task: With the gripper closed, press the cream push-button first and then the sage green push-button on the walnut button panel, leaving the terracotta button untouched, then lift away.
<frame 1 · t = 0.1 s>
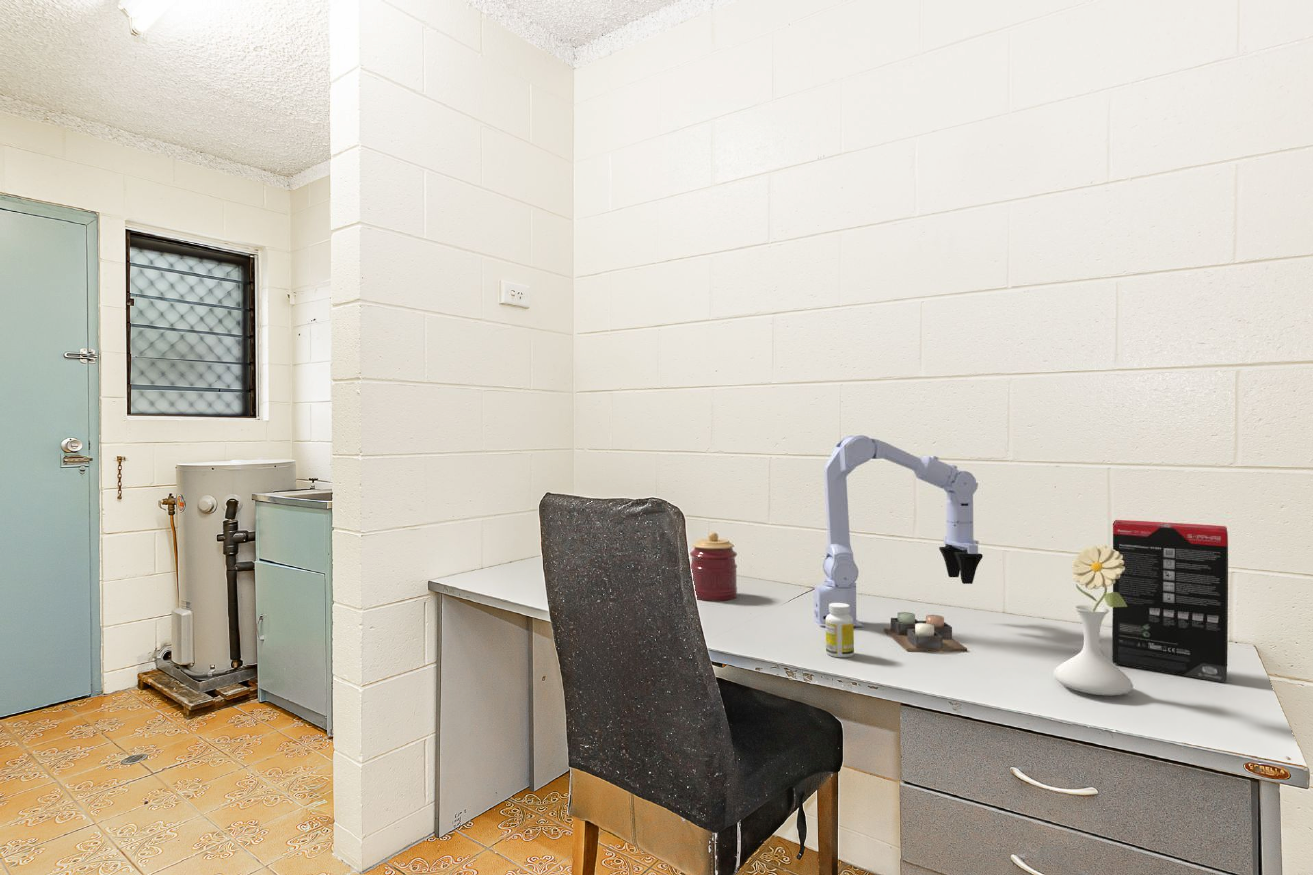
hand: (960, 580, 159), 10 cm above the table, fingers open, 7 cm apart
supplement bottle: (839, 655, 136), on the table
terracotta button: (934, 622, 147), point 3 cm above the table, slide at 0.0 cm
cream button: (924, 631, 140), point 3 cm above the table, slide at 0.0 cm
sage button: (906, 620, 149), point 3 cm above the table, slide at 0.0 cm
button panel: (923, 640, 145), on the table
canister: (713, 597, 188), on the table
graphics card box: (1169, 671, 125), on the table
flower in vase: (1095, 692, 115), on the table
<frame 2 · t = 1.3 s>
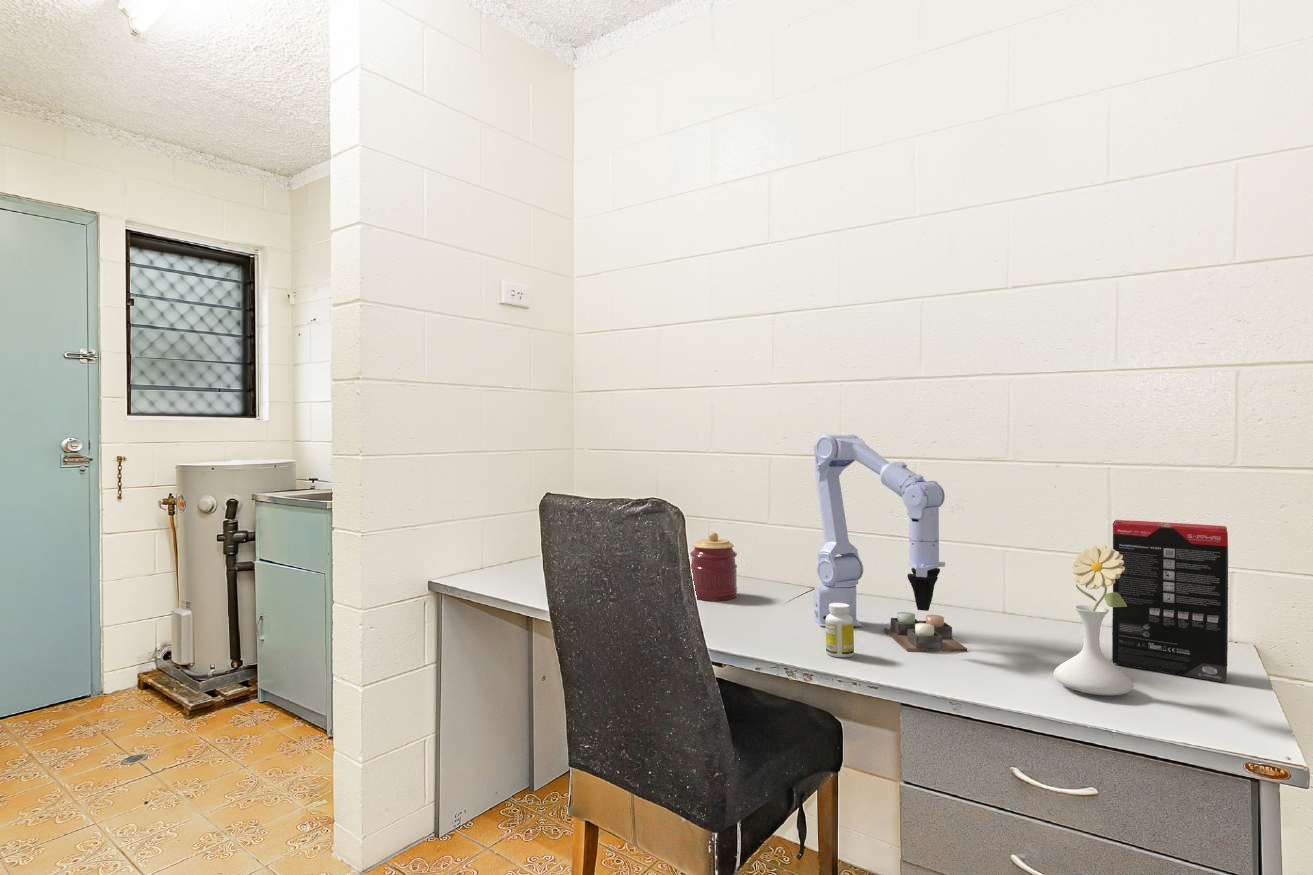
hand: (924, 606, 140), 8 cm above the table, fingers open, 6 cm apart
nothing on the table moved.
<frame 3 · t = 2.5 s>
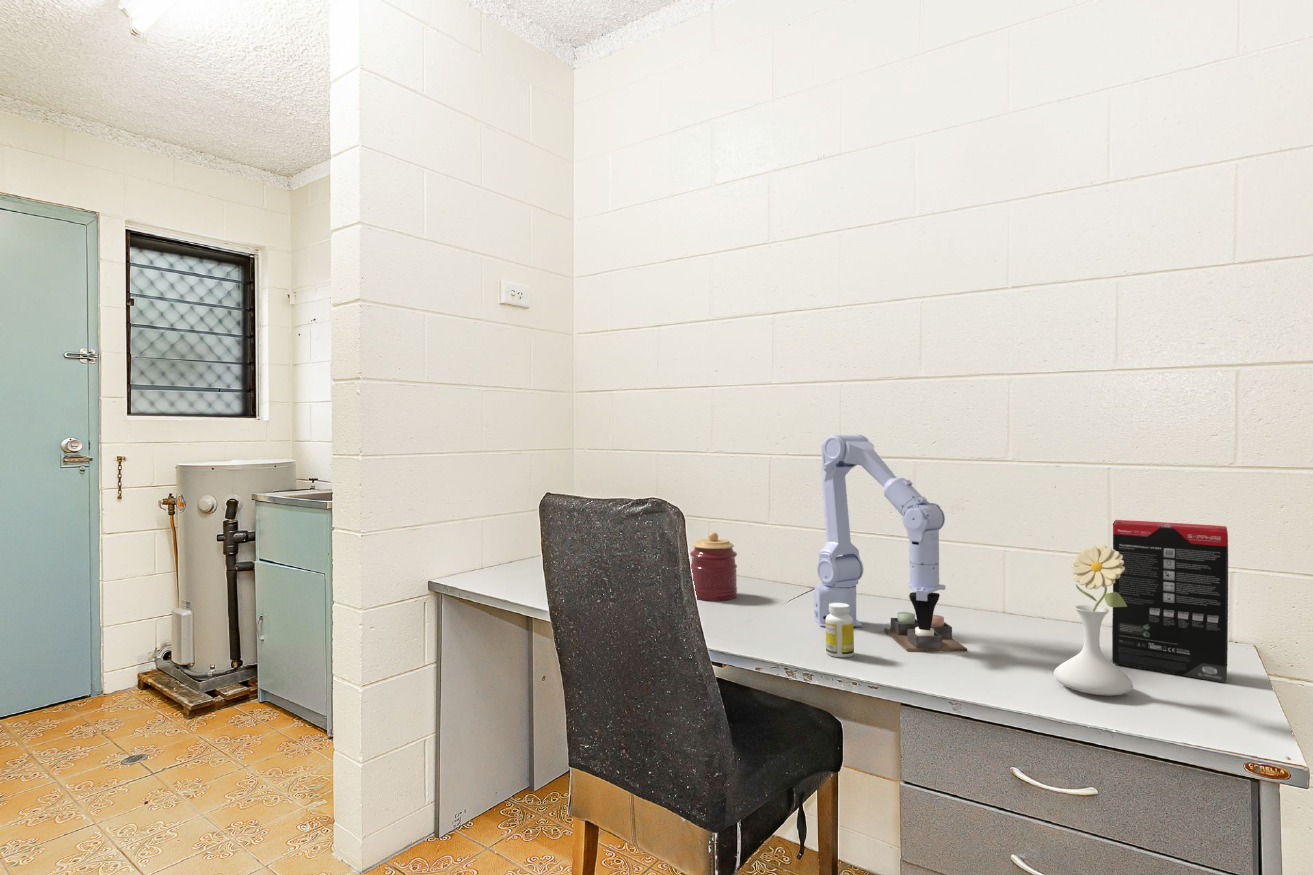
hand: (924, 629, 140), 4 cm above the table, fingers closed, pressing on cream button
cream button: (924, 635, 140), point 2 cm above the table, slide at 0.7 cm, touching gripper
everything else where it was.
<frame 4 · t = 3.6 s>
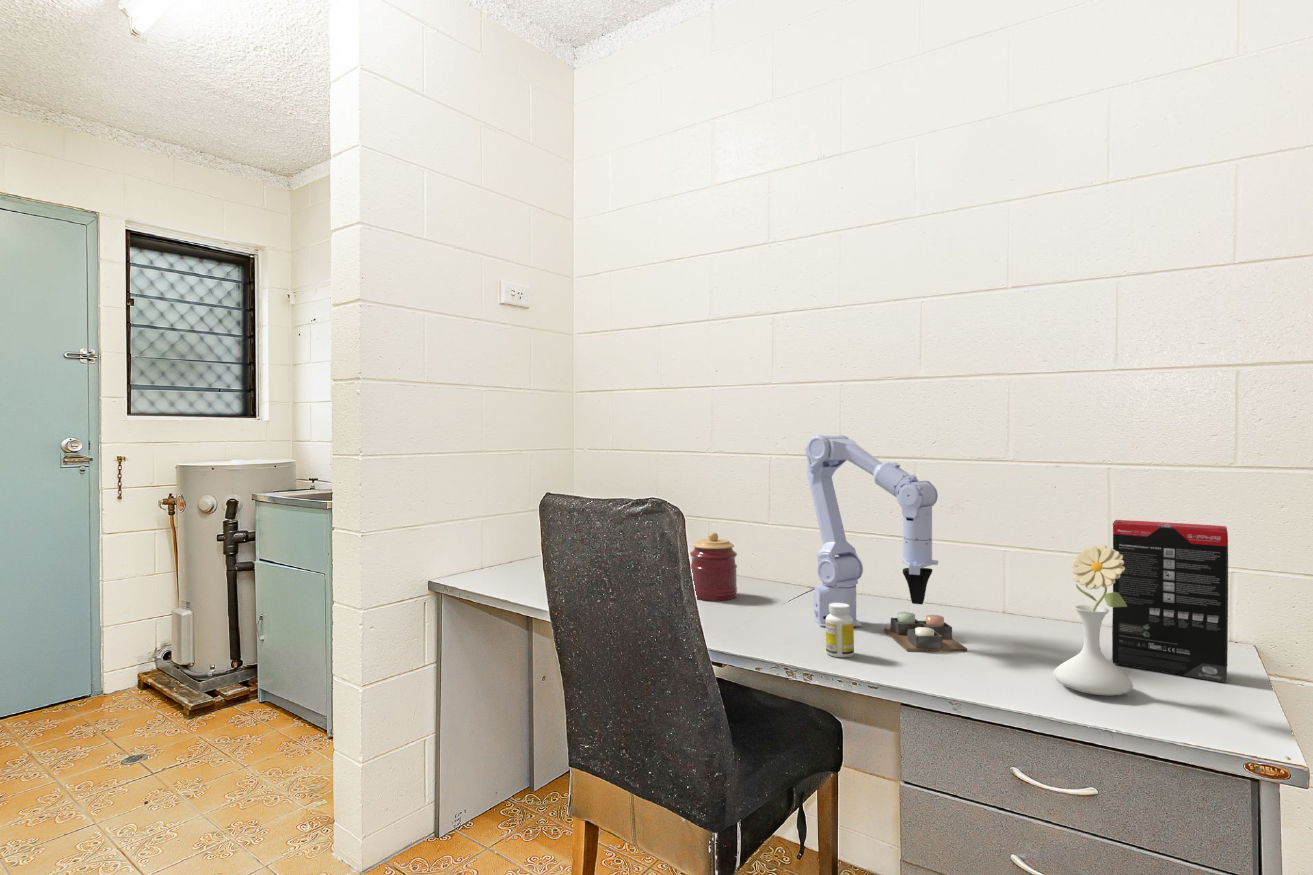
hand: (917, 603, 143), 8 cm above the table, fingers closed
cream button: (924, 635, 140), point 2 cm above the table, slide at 0.8 cm
everything else where it was.
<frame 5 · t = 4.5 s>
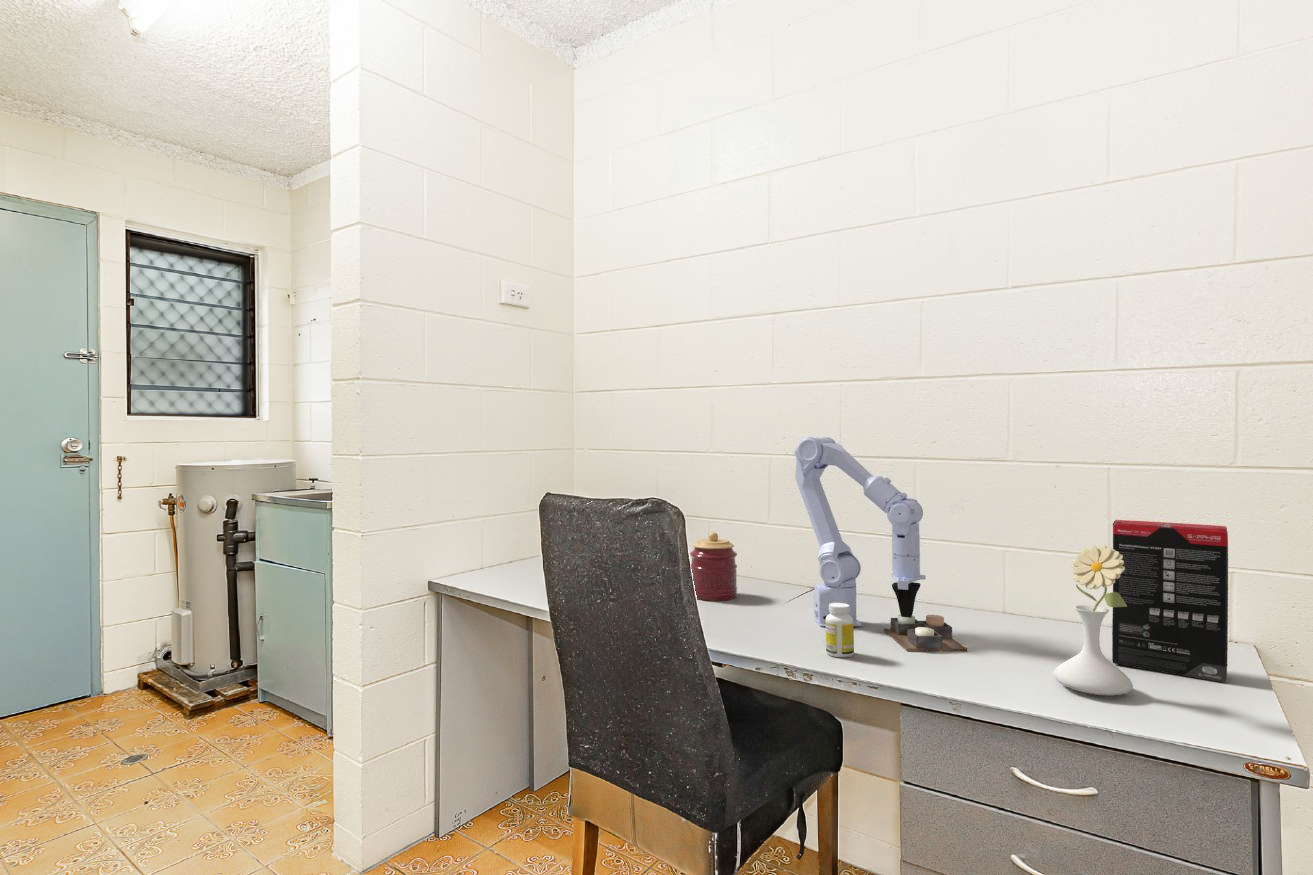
hand: (906, 616, 149), 4 cm above the table, fingers closed, pressing on sage button
sage button: (906, 622, 149), point 3 cm above the table, slide at 0.5 cm, touching gripper
everything else where it was.
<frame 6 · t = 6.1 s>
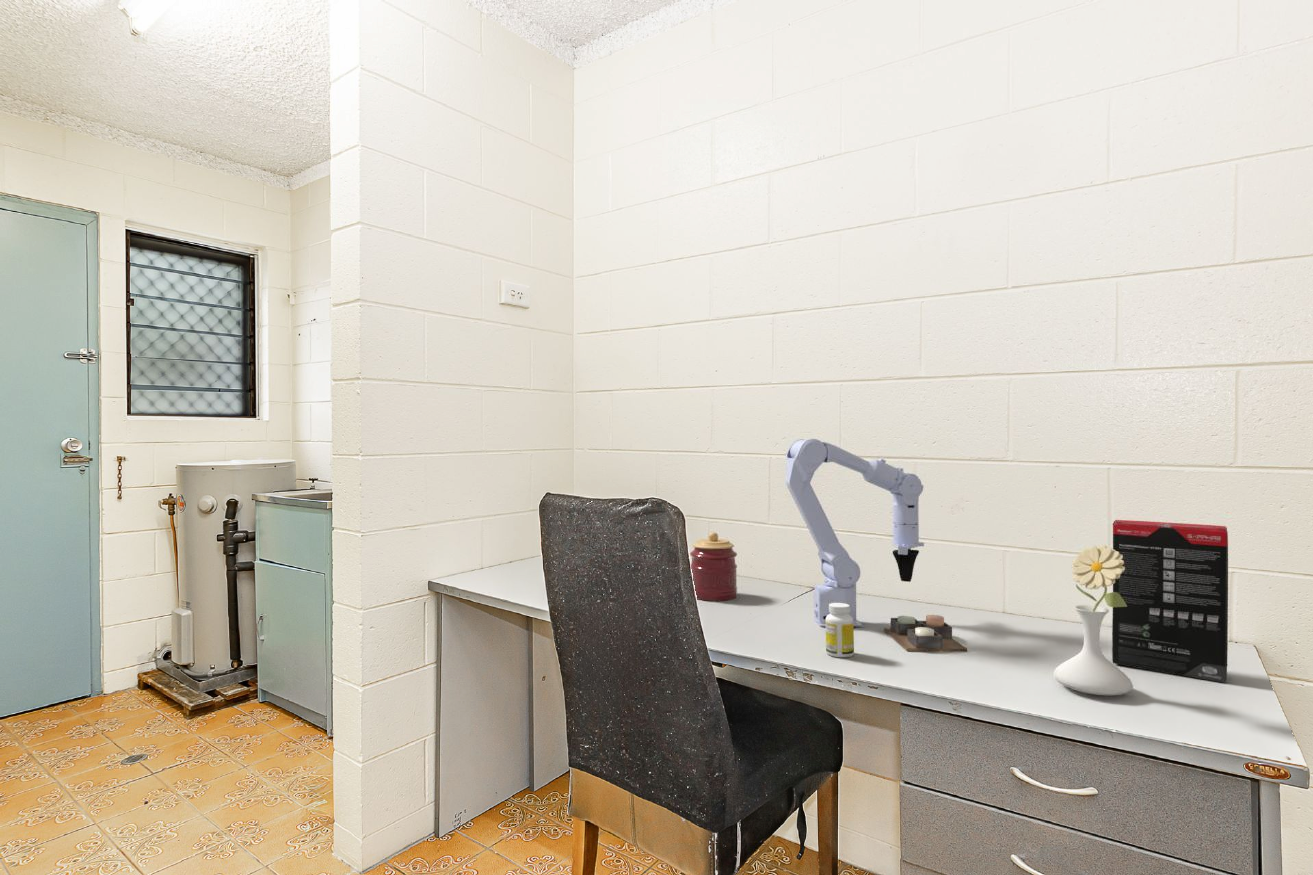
hand: (906, 581, 161), 9 cm above the table, fingers closed
sage button: (906, 623, 149), point 2 cm above the table, slide at 0.8 cm
everything else where it was.
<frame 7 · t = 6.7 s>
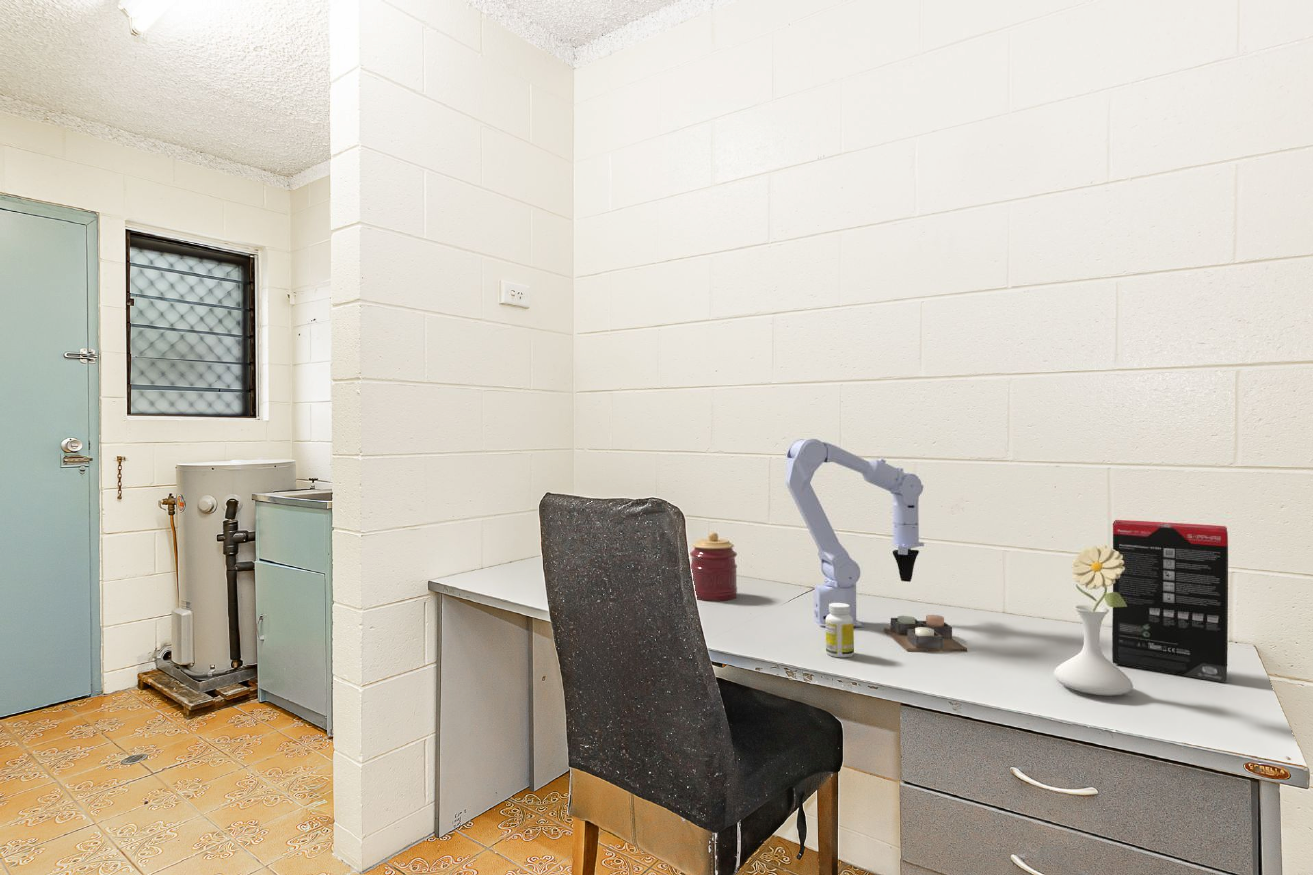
hand: (906, 581, 161), 9 cm above the table, fingers closed
nothing on the table moved.
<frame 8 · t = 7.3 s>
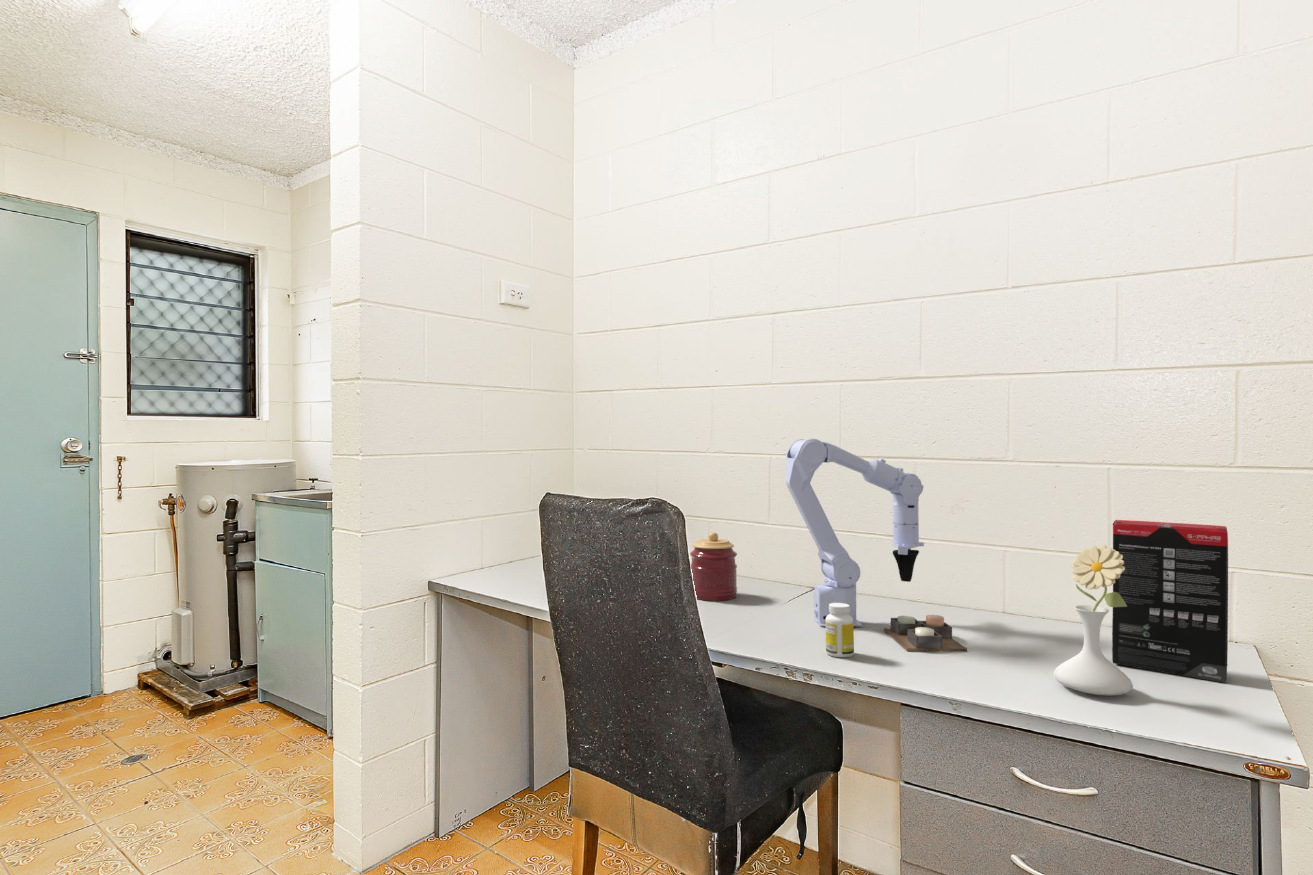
hand: (906, 581, 161), 9 cm above the table, fingers closed
nothing on the table moved.
at the end: cream button slide at 0.8 cm; sage button slide at 0.8 cm; terracotta button slide at 0.0 cm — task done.
